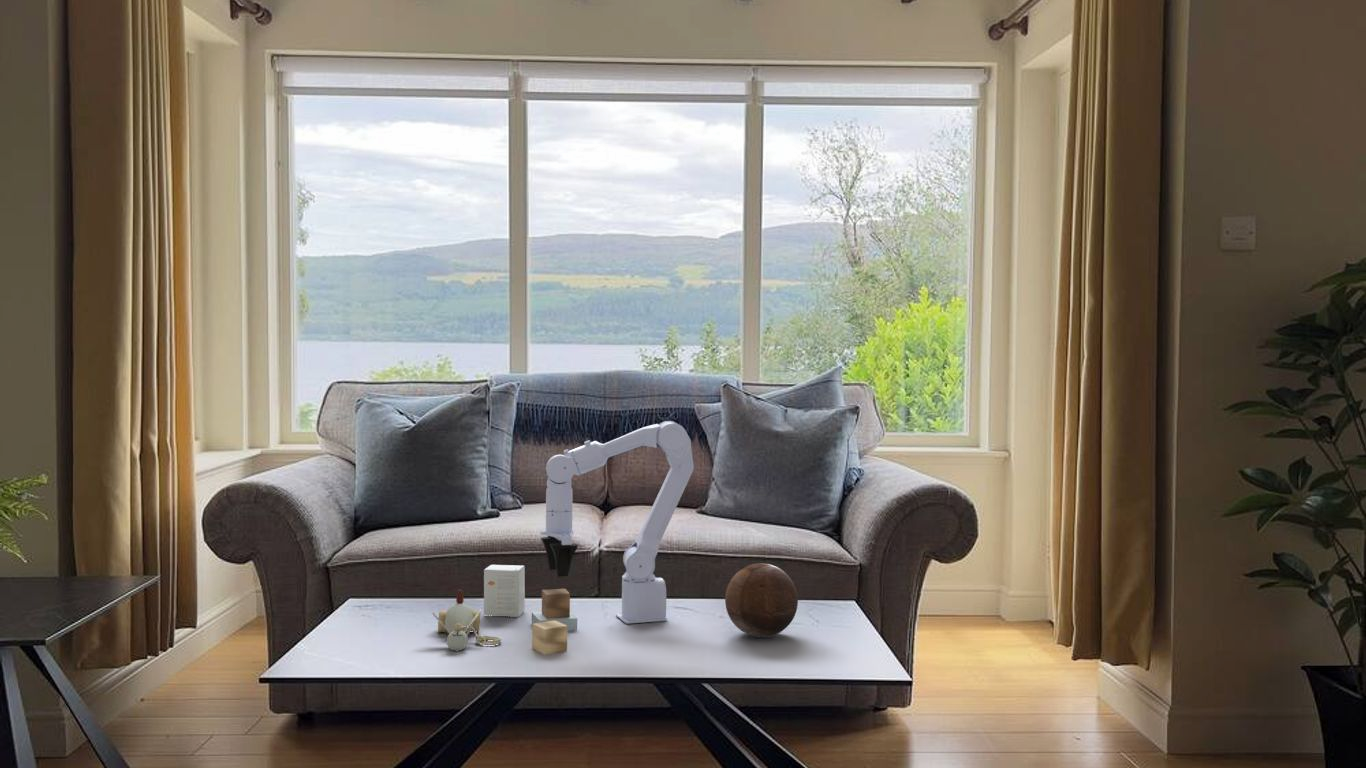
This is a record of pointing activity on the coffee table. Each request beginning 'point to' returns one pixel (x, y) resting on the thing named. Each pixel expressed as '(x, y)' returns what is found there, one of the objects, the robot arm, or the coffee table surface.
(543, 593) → the walnut cube
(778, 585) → the wooden sphere
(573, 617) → the slab
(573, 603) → the coffee table surface
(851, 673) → the coffee table surface
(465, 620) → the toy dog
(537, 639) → the oak cube
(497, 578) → the small box
